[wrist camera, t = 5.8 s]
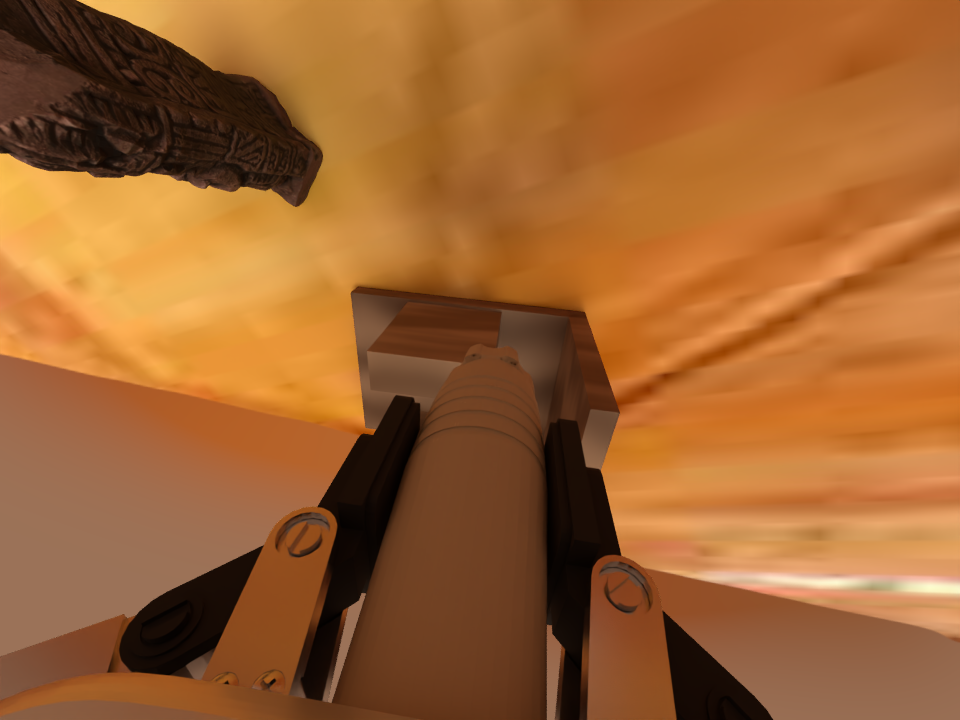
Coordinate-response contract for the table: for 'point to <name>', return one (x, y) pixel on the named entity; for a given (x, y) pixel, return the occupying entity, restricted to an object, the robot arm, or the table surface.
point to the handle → (462, 561)
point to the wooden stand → (464, 323)
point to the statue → (138, 106)
